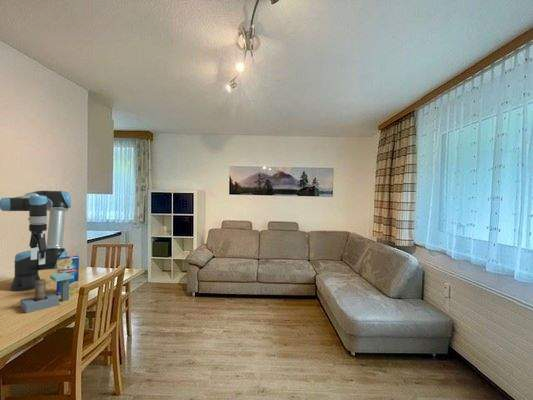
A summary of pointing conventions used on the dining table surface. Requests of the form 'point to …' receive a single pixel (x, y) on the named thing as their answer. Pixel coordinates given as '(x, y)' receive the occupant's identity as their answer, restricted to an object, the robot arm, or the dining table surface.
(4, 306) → the dining table surface
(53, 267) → the robot arm
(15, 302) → the dining table surface
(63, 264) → the beverage box
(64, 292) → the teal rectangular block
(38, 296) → the walnut peg
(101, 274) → the dining table surface
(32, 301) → the socket block
